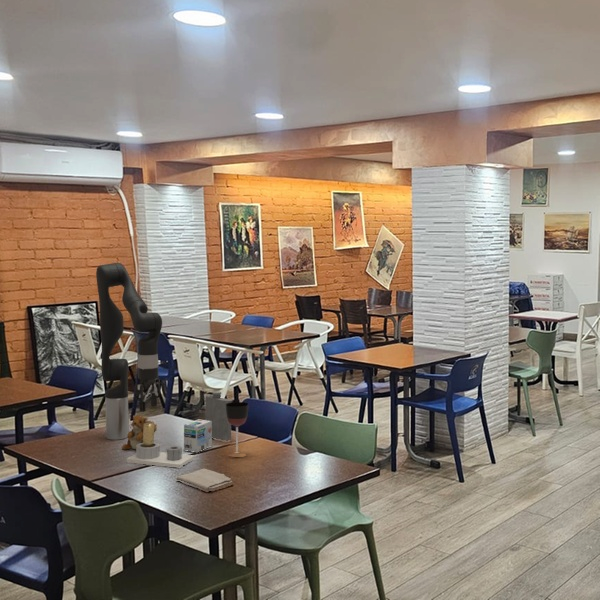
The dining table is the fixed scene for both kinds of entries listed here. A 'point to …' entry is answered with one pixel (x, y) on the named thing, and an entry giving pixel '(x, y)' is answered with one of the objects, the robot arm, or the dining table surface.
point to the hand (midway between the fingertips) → (148, 408)
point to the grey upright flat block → (218, 416)
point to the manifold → (160, 456)
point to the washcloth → (205, 479)
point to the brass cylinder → (148, 435)
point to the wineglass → (237, 415)
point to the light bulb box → (197, 435)
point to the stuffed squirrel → (136, 432)
